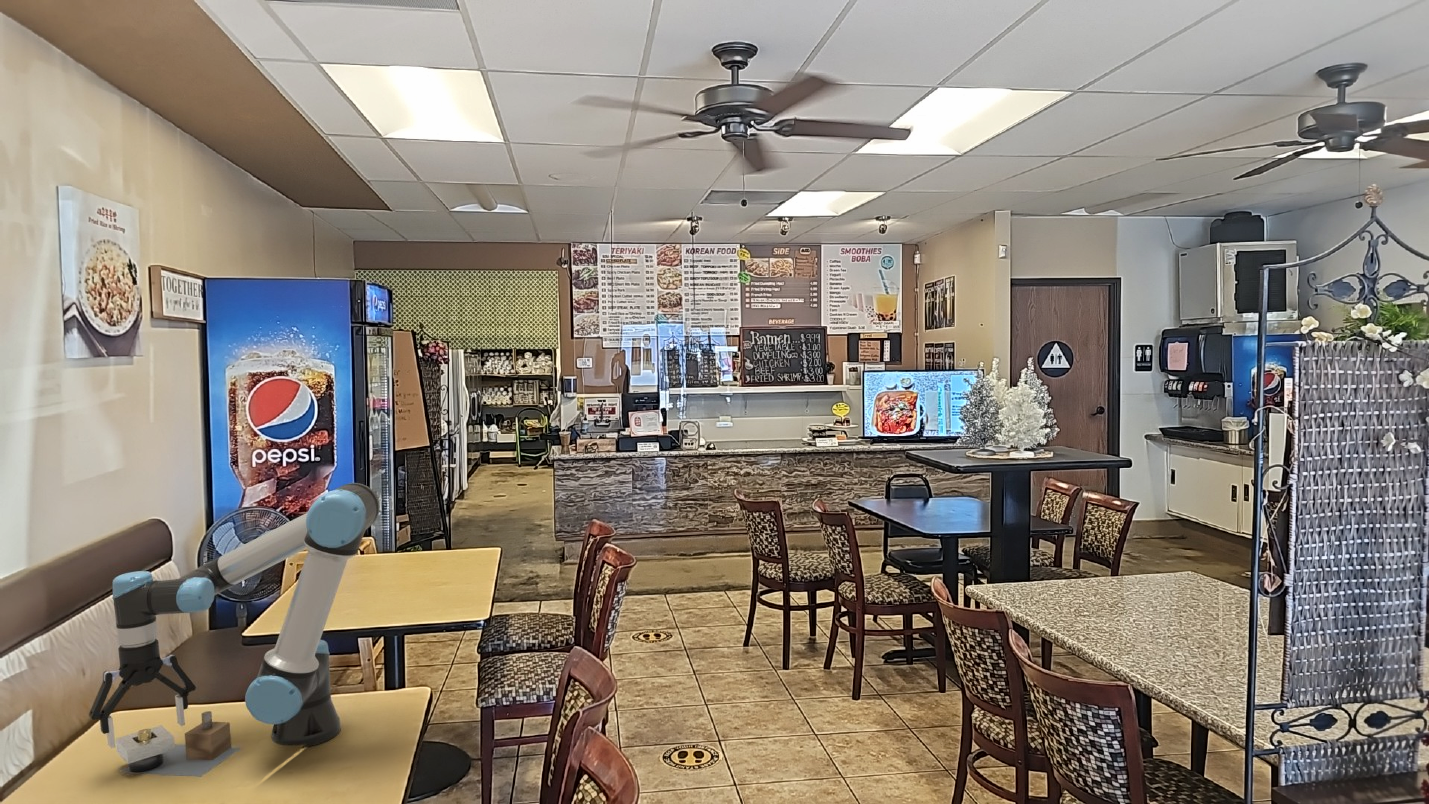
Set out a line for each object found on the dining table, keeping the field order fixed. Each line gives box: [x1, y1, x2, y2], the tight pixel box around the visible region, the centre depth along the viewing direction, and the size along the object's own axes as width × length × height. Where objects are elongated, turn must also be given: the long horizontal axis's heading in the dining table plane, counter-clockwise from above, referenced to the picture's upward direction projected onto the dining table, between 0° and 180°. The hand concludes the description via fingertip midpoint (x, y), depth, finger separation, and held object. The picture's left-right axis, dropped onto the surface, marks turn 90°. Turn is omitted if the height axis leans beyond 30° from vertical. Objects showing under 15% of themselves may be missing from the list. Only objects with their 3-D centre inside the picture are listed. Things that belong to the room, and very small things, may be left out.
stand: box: [184, 710, 232, 760], centre depth 204 cm, size 6×6×10 cm
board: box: [118, 743, 243, 778], centre depth 202 cm, size 20×14×1 cm
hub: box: [128, 728, 163, 774], centre depth 199 cm, size 6×6×8 cm
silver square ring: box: [115, 724, 175, 765], centre depth 199 cm, size 9×9×3 cm
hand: (147, 735), depth 199 cm, fingers open, 13 cm apart
